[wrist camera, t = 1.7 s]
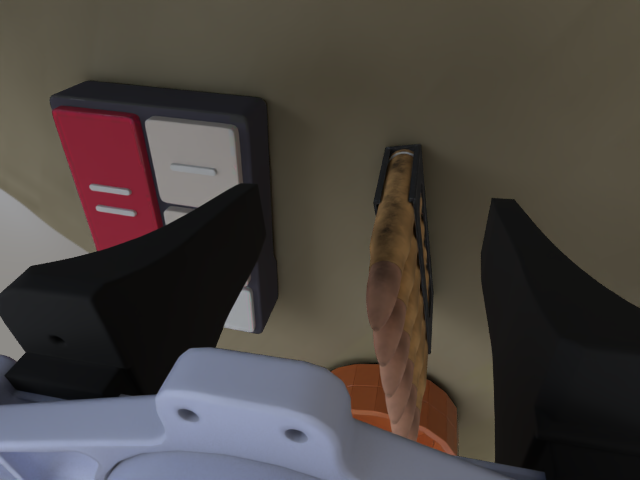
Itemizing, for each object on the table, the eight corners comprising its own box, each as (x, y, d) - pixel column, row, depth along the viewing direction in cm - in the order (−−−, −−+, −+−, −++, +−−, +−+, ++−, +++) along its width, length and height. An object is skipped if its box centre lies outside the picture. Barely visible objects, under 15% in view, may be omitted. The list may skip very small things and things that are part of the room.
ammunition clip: (433, 295, 29) (426, 482, 20) (404, 294, 29) (384, 477, 20) (420, 143, 23) (401, 310, 14) (385, 146, 23) (342, 309, 14)
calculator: (241, 121, 20) (259, 344, 29) (270, 94, 24) (278, 300, 32) (34, 98, 22) (108, 314, 31) (89, 76, 26) (142, 276, 34)
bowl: (475, 379, 33) (478, 436, 29) (439, 456, 40) (438, 508, 37) (318, 344, 35) (303, 394, 31) (311, 424, 42) (299, 471, 39)
